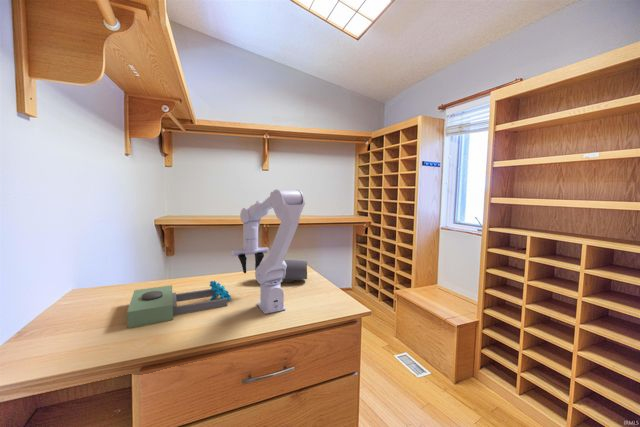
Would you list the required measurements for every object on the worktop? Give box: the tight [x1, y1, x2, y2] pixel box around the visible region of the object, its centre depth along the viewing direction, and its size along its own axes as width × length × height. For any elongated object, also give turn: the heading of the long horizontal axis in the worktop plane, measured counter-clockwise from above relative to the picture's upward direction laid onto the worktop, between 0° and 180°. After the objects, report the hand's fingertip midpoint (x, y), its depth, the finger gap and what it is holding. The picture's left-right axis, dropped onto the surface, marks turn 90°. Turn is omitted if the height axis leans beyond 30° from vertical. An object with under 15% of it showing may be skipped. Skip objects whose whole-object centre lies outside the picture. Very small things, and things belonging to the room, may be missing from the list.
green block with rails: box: [126, 284, 228, 329], centre depth 97 cm, size 20×29×6 cm
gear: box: [208, 280, 232, 302], centre depth 103 cm, size 11×6×10 cm
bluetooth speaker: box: [281, 259, 308, 283], centre depth 126 cm, size 23×9×10 cm, turn 94°
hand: (250, 271), depth 109 cm, fingers open, 4 cm apart
